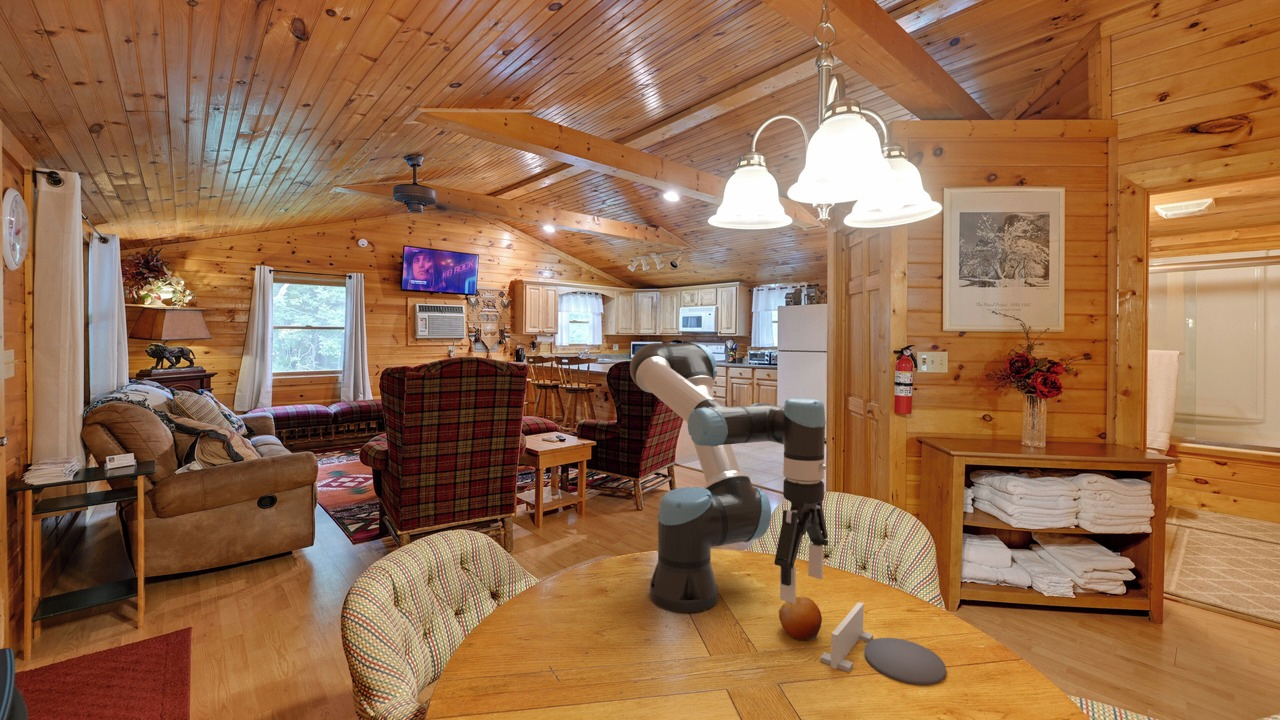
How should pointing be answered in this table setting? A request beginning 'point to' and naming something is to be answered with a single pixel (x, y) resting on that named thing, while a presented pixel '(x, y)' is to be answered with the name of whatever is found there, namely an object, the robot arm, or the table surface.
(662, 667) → the table surface
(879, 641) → the mat
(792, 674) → the table surface
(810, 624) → the fruit
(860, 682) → the table surface
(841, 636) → the wall
